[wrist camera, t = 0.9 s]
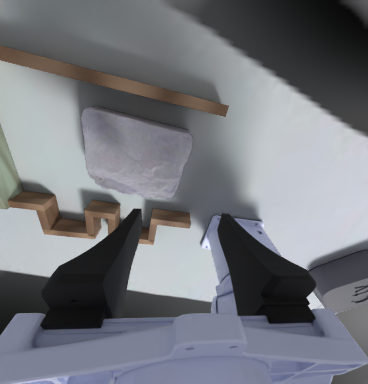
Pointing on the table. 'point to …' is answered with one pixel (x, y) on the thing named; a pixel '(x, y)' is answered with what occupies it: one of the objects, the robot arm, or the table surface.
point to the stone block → (134, 152)
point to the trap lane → (49, 212)
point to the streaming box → (343, 282)
